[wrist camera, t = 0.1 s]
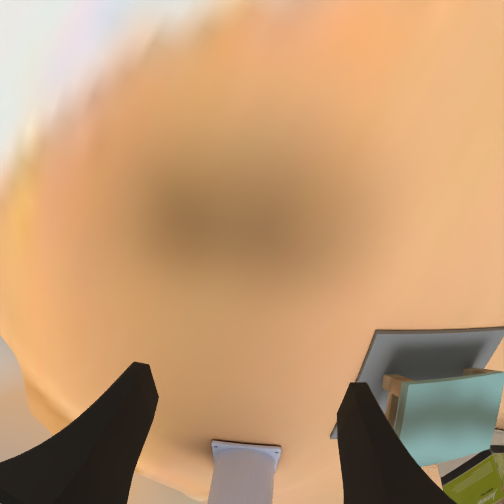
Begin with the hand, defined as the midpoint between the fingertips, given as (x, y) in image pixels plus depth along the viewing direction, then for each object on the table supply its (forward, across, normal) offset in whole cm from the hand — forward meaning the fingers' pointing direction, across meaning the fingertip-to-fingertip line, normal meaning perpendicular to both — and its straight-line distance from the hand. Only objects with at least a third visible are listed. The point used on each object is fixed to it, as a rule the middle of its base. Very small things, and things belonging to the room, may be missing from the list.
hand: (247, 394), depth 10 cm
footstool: (+7, -16, +12) cm, 21 cm away
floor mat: (+10, -16, +13) cm, 23 cm away
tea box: (+10, -38, +32) cm, 50 cm away
